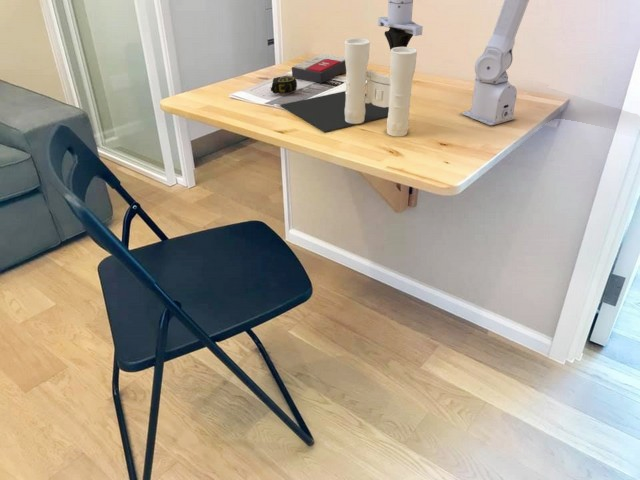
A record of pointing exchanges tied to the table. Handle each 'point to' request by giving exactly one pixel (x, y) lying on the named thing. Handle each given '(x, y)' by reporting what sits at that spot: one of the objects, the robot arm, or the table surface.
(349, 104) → the binoculars
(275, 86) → the tape measure
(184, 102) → the table surface
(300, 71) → the grey and red box
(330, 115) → the mat
